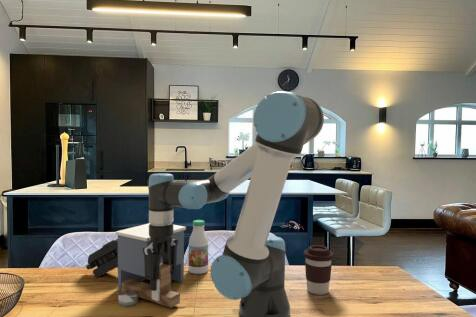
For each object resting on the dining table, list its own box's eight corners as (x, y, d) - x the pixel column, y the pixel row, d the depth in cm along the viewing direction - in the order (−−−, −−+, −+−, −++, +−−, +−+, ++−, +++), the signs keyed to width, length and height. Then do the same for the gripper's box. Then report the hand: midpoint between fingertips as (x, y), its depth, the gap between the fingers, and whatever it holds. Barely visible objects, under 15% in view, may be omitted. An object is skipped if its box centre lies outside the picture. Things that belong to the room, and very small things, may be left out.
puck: (141, 299, 115) (141, 290, 115) (133, 308, 109) (133, 299, 109) (123, 298, 116) (123, 289, 116) (115, 306, 110) (115, 297, 110)
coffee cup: (308, 283, 130) (309, 242, 129) (336, 289, 125) (337, 246, 124) (298, 292, 121) (299, 249, 121) (327, 299, 116) (328, 254, 115)
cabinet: (185, 280, 130) (185, 226, 130) (146, 299, 114) (146, 238, 113) (156, 272, 138) (156, 221, 138) (115, 289, 122) (115, 231, 121)
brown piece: (179, 302, 110) (179, 267, 110) (171, 307, 107) (171, 271, 107) (130, 287, 122) (130, 255, 122) (121, 291, 119) (121, 258, 118)
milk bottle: (186, 269, 142) (186, 219, 142) (204, 266, 146) (204, 218, 145) (191, 275, 135) (192, 223, 135) (210, 272, 139) (211, 222, 138)
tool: (136, 273, 129) (118, 236, 130) (95, 295, 133) (77, 259, 134) (144, 267, 135) (126, 232, 136) (105, 288, 139) (87, 254, 140)
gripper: (171, 217, 120) (170, 285, 121) (131, 226, 106) (131, 304, 107) (188, 219, 116) (188, 290, 117) (149, 230, 102) (149, 310, 103)
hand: (161, 296), depth 112 cm, fingers closed on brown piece, 4 cm apart
